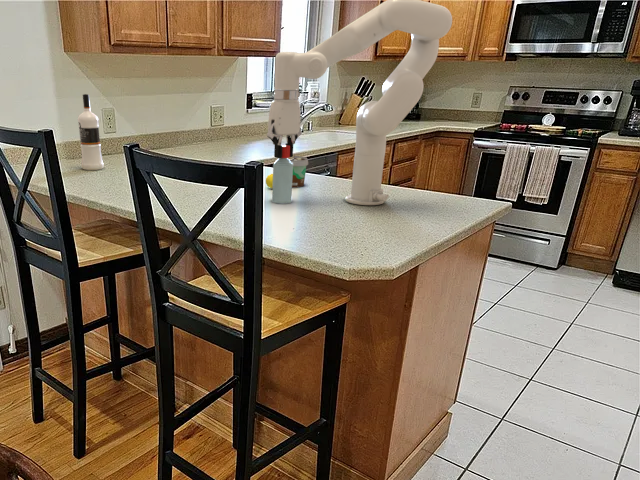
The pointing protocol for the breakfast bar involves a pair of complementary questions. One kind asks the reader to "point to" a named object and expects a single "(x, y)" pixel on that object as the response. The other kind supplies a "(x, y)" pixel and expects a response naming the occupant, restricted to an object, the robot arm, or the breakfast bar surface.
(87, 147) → the vodka
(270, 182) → the lemon
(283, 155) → the cap
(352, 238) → the breakfast bar surface
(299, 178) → the food container
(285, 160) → the bottle
